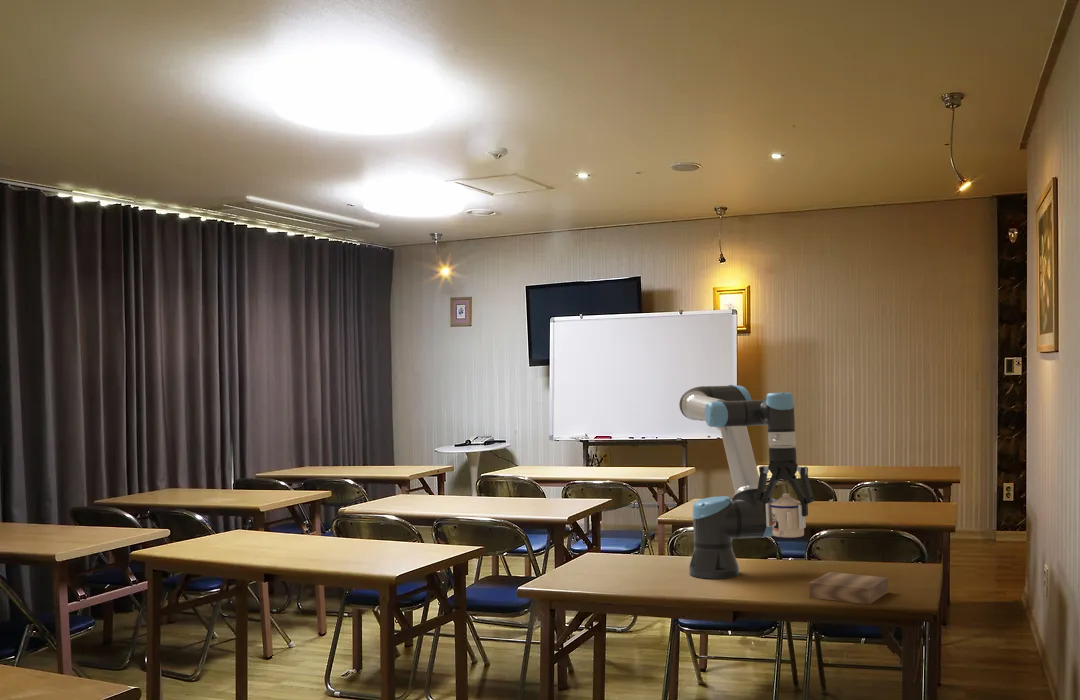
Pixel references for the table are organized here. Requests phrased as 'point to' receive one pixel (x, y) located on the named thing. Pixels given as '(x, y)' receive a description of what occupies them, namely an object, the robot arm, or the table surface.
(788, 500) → the teacup with lid
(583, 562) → the table surface
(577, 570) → the table surface
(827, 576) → the wooden square block
